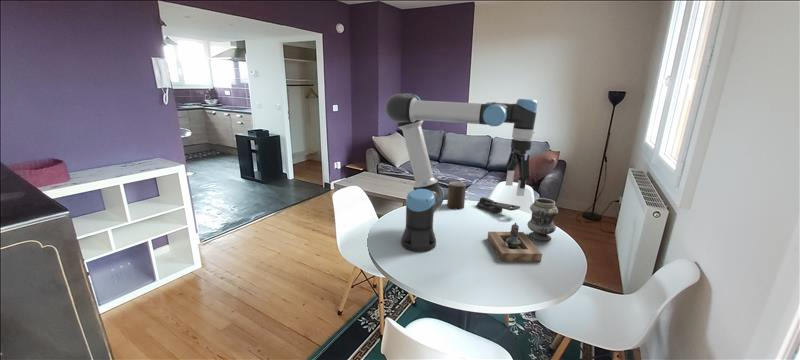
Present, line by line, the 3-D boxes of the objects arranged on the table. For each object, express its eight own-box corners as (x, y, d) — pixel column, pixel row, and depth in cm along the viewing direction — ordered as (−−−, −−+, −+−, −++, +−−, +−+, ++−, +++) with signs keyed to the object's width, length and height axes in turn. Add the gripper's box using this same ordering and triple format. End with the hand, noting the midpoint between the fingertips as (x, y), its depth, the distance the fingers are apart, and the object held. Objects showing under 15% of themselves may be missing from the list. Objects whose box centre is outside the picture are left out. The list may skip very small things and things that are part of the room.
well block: (501, 261, 131) (502, 253, 130) (487, 238, 151) (488, 231, 150) (540, 261, 132) (542, 253, 131) (522, 239, 151) (523, 232, 150)
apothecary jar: (539, 230, 161) (545, 195, 156) (559, 240, 150) (566, 203, 145) (520, 233, 156) (525, 198, 151) (539, 245, 146) (545, 206, 141)
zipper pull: (511, 209, 169) (475, 195, 189) (509, 221, 171) (474, 206, 191) (522, 206, 174) (486, 193, 194) (520, 218, 176) (485, 203, 196)
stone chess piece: (513, 253, 137) (517, 226, 134) (502, 247, 142) (505, 221, 139) (522, 249, 141) (526, 223, 137) (510, 244, 145) (514, 218, 142)
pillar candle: (458, 210, 183) (460, 185, 179) (443, 206, 189) (445, 181, 185) (467, 206, 190) (469, 181, 186) (453, 202, 196) (455, 178, 192)
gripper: (544, 145, 119) (535, 201, 125) (520, 134, 142) (513, 181, 148) (523, 144, 118) (515, 200, 124) (502, 134, 142) (496, 181, 148)
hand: (514, 190), depth 137 cm, fingers open, 13 cm apart
